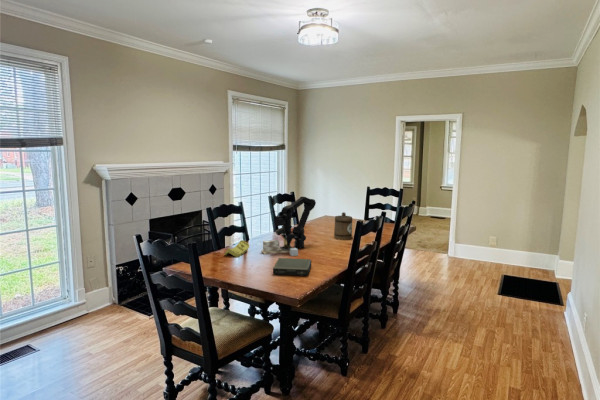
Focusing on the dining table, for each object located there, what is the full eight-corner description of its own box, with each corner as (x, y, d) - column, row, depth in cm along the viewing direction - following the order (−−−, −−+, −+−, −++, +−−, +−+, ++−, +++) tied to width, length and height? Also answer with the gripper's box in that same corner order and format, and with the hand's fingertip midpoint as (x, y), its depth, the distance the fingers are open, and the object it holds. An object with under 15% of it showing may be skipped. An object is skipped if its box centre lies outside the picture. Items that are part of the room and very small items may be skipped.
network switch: (311, 265, 240) (311, 257, 239) (313, 277, 216) (313, 269, 216) (274, 265, 239) (274, 257, 238) (272, 277, 216) (272, 268, 215)
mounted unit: (291, 248, 278) (291, 238, 277) (295, 251, 270) (295, 240, 269) (261, 251, 270) (261, 240, 269) (264, 254, 262) (264, 242, 261)
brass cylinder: (289, 245, 275) (289, 237, 274) (291, 247, 271) (291, 239, 270) (282, 246, 273) (282, 238, 273) (284, 247, 269) (284, 239, 268)
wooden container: (352, 240, 307) (353, 214, 305) (334, 240, 308) (335, 213, 305) (350, 236, 322) (351, 211, 319) (333, 236, 322) (334, 210, 320)
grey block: (295, 254, 264) (295, 247, 264) (297, 255, 260) (297, 249, 260) (289, 254, 263) (289, 248, 262) (291, 256, 259) (291, 249, 258)
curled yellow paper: (238, 254, 253) (226, 247, 255) (234, 263, 256) (223, 255, 258) (251, 245, 272) (240, 238, 274) (248, 253, 274) (237, 247, 276)
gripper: (272, 222, 276) (272, 243, 278) (280, 227, 258) (280, 249, 260) (287, 221, 280) (287, 242, 282) (295, 226, 262) (295, 248, 264)
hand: (287, 245), depth 272 cm, fingers closed on brass cylinder, 5 cm apart
